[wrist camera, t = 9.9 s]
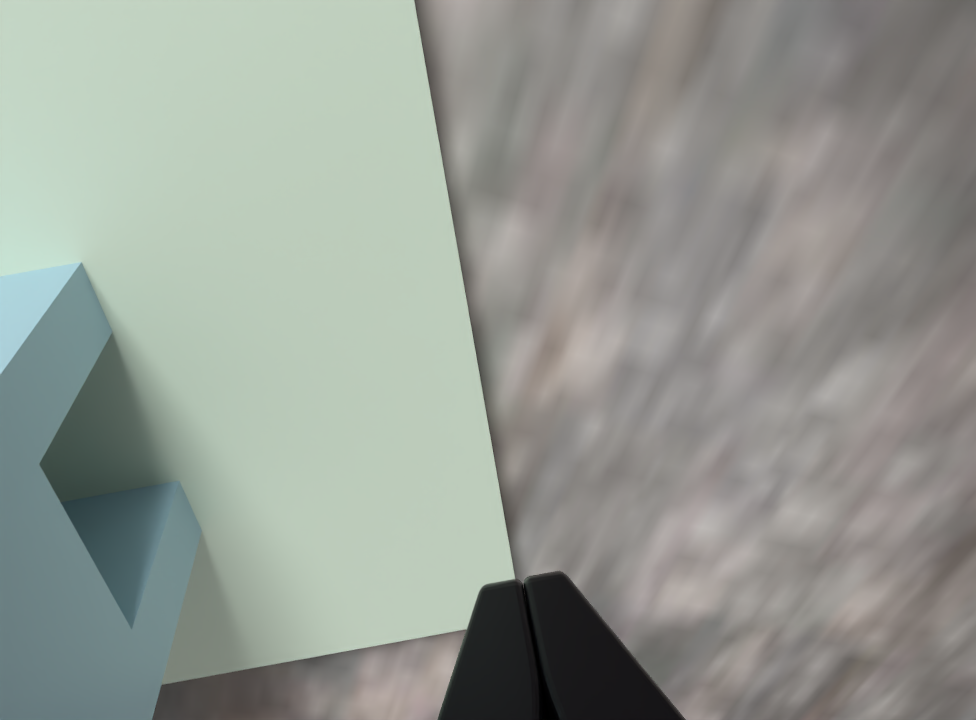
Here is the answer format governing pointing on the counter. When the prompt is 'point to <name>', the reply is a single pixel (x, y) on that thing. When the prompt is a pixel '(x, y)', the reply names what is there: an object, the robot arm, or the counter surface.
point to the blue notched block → (76, 529)
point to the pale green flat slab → (261, 308)
